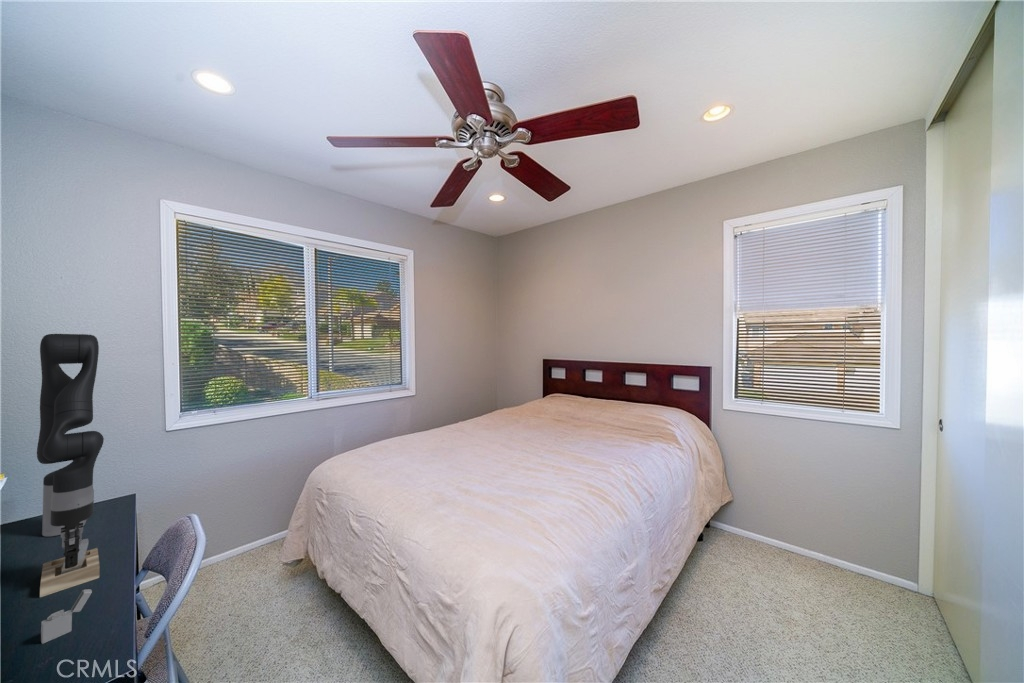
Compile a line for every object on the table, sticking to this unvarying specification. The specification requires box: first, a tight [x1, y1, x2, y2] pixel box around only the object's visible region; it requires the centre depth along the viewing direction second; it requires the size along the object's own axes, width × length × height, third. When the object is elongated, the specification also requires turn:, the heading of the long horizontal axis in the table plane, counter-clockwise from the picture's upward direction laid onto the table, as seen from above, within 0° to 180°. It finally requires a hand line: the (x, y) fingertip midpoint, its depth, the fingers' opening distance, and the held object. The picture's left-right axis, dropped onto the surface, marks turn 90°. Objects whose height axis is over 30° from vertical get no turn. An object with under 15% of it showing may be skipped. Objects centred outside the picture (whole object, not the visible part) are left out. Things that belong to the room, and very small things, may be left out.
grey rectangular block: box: [59, 538, 89, 575], centre depth 98 cm, size 4×4×9 cm
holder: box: [39, 547, 100, 598], centre depth 99 cm, size 14×10×3 cm
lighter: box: [40, 588, 93, 645], centre depth 81 cm, size 7×2×8 cm, turn 149°
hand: (71, 564), depth 98 cm, fingers closed on grey rectangular block, 2 cm apart
